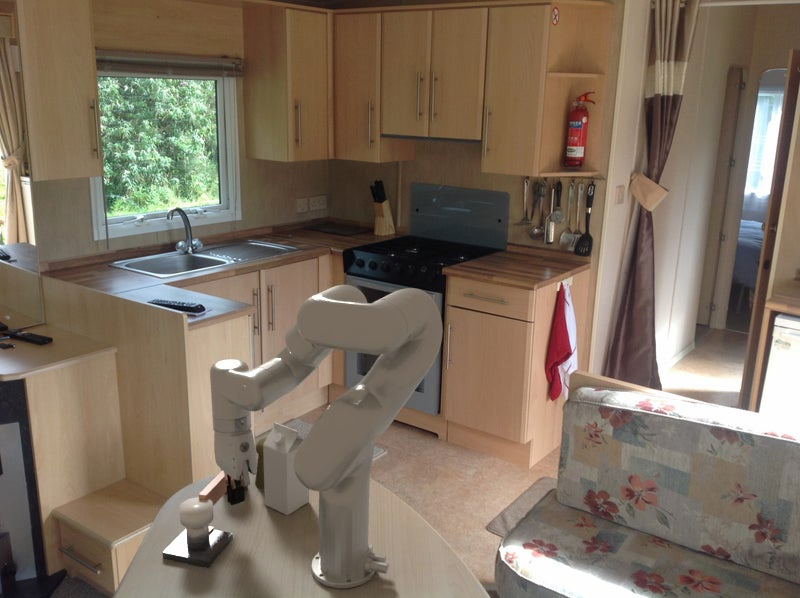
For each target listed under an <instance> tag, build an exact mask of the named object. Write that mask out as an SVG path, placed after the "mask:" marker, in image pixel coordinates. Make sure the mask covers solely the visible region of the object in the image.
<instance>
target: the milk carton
mask: <svg viewBox="0 0 800 598" xmlns="http://www.w3.org/2000/svg"><path fill="white" fill-rule="evenodd" d="M266 438H267V439H266V441H265V442H264V444H263V456H264V489H263V491H264V505H265V506H267V507H269V508H271V509H273V510H275V511H278V513H279V512H280V513H282V514H284V515H286V516H288V515H291V513H293V512H296V511H297V510H298V509H300V508H301V507H303V506H304V505H307V504H308V503H309V502H310V489H308V488H306V487H305V486H304V485H302V484H301V482H300V481H299V480H298V478H297V476H296V473H295V469H294V457H295V453H296V451H297V449H298V447H299V445H300V444H301V442H302V441H303V440H304V438H302V437H301V436H300V435H299V431H298V430H297V429H293V428H291V427H288V426H286V425H283V424H280V423H277V422H275V421H274V422H273V427H272V429H271V431H270V432H269V434H268V436H267V437H266Z"/></svg>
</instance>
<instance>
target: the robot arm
mask: <svg viewBox="0 0 800 598" xmlns="http://www.w3.org/2000/svg"><path fill="white" fill-rule="evenodd" d="M284 338H285V339H284V340H285V341H284V342H285V347H284V348H283V349H281V351H279V353H278V354H276V355H275V356H274V357H273V358H272V359H270V360H268V361H266V362H264V363H262V364H260V365H258V366H257V367H255V368H252V369H250V368H249V365H248V364H247V363H246V362H245V361H243V360H241V359H236V358H227V359H222V360H218V361H216V362H215V363H213V364H212V365H211V367H210V369H209V375H210V376H209V378H210V379H209V380H210V396H211V399H210V400H211V413H212V428H213V429H212V431H213V432H214V435H213V438H214V439H213V441H214V446H213V447H214V448H213V449H214V451H213V452H214V460H215V464H216V465H217V466H218V467H219V468H220V470H221V469H222V470H223V471H224V475H225V482H226V484H227V493H226V497H227V499H226V500H227V503H228V504H229V505H230V506H236V505H238V504H241V503H243V502H245V500H246V492H245V488H244V487H245V486H247V485H248V486H251V480H250V475H249V473H250V474H251V475H253V476H256V474H257V463H258V460H257V454H256V453H257V451H256V444H255V440H254V434H253V430H252V429H251V428H252V414H251V413H252V412H259V411H261V410H263V409H265V408H267V407H268V406H270V405H272V404H273V403H275V402H276V401H277V400H279V399H281V398H283V397H285V396H286V395H288V394H290V393H291V392H292V391H294V390H295V389H297V387H298V386H299V385H300V384H302V383H303V381H305V380H306V379H307V378H308V377H309V376H311V375H312V374H313V373H314V371H316V369H317V368H318V367H319V366H320V365H321V363H322V362H323V361H324V360H325V359H326V358H327V357H328V356H329V355H330V354H332V352H334V350H337V351H343V352H352V353H358V354H360V353H361V354H366V355H378V357H377V359H376V360H375V362H374V363H373V365H372V366H371V368H370V370H369V371H368V372H367V373H366V375H365V376H364V377H363V378H362V379H361V380H360V382H358V383H357V384H355V385H354V386H352V387H351V388H350V389H348V390H347V391H346V392H344V393H342V394H341V395H340V396H338V397H337V398H335V400H333V401H332V402H331V403H329V405H328V406H327V407H326V408H325V409H324V410H323V411H322V413H321V414H320V415H319V417H318V418H317V420H316V421H315V422H314V424H313V425H312V427H311V428H310V429H309V431H308V433H307V434H306V435H305V436H304V438H303V439H304V440H303V441H302V442H301V444H300V445H299V447H298V449H297V451H296V453H295V457H294V469H295V473H296V476H297V478H298V480H299V481H300V482H301V484H302V485H304V486H305V487H306V488H308V489H309V491H312V492H313V491H314V492H318V552H317V553H316V554H315V555H314V556H313V558H312V559H311V563H310V570H311V574H312V576H313V578H314V579H315V580H316V581H317V582H319V583H320V584H321V585H323V586H326V587H329V588H333V589H348V588H349V589H351V588H355V587H359V586H361V585H363V584H365V583H366V582H368V581H369V580H370V579H372V578H373V576H374V575H375V573H376V572H377V573H381V574H386V575H388V572H389V566H390V565H389V563H388V562H386V561H387V556H386V555H381V554H376V553H375V552H373V551H374V550H373V544H371V543H369V524H370V523H369V522H370V521H369V517H370V516H369V515H370V513H369V512H370V511H369V510H370V509H369V508H370V481H371V472H372V471H371V470H372V466H373V461H374V454H375V440H376V439H377V438H379V437H380V436H381V435H382V434H383V433H384V432H385V431H386V430H387V429H388V428H389V427H390V426H391V425H392V423H393V422H394V420H395V418H396V417H397V415H398V414H399V413H400V411H401V409H403V407H404V406H405V405H406V403H407V402H408V400H409V399H410V398H411V397H412V395H413V394H414V392H415V391H416V389H417V388H418V386H419V385H420V383H421V382H423V379H424V378H425V377H426V375H427V374H428V372H429V371H430V369H431V368H432V366H433V365H434V363H435V361H436V359H437V357H438V354H439V352H440V349H441V344H442V340H443V321H442V316H441V312H440V310H439V308H438V305H437V303H436V302H435V300H434V299H433V297H431V295H430V294H428V293H427V292H426V291H424V290H422V289H419V288H413V287H409V288H407V287H406V288H402V289H398V290H395V291H393V292H392V293H389V294H387V295H385V296H384V297H382V298H379V299H377V300H375V301H373V302H372V303H369V302H368V301H367V298H366V296H365V295H364V293H363V292H362V291H361V290H360V289H359V288H357V287H355V286H353V285H349V284H339V285H335V286H332V287H330V288H328V289H326V290H324V291H321V292H319V293H317V294H313V295H312V296H310V297H308V298H307V299H305V301H303V303H302V304H301V305H300V307H299V309H298V311H297V314H296V321H295V322H294V323H293V324H292V325H291V326H290V327H289V328H288V330H286V332H285V337H284ZM240 477H241V478H240ZM228 484H229V485H228Z"/></svg>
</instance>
